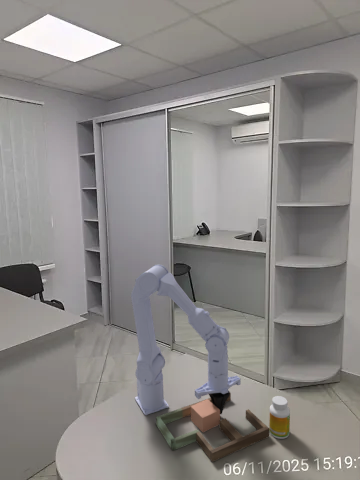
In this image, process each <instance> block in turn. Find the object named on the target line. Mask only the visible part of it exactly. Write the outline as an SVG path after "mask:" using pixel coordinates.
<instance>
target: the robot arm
mask: <svg viewBox="0 0 360 480" xmlns="http://www.w3.org/2000/svg"><path fill="white" fill-rule="evenodd" d="M156 292H157V293H156ZM155 293H156V296H163V297H168V298H170V299H171V301H173V302H174V303H175V305H177V306H178V308H180V309H181V310H182V312H183V313H184V314H186V315H187V322H188V324H189V325H190V326H191V327H192V328H193V329H194V331H195V332H196V333H197V334H198V335H199V336H200V338H201V339H202V340H203V341H204V342H205V344H204V347H205V349H206V350H207V381H206V382H205V383H204V384H202V385H201V386H199V387H198V388H196V389H194V397H195V398H196V399H197V400H200V399H202V397H204V396H207V395H208V396H209V398H211V400H212V403H213V404H214V405H215V406H216V407H217V408H218V409H219V410H220V415H222V414H223V411H224V408H225V404H226V400H227V399H228V397H229V396H230V393H231V391H229V389H231V387H233V386H241V378H240V377H239V376H238V375H234V376H229V355H228V352H229V351H228V344H229V340H230V333H229V332H228V330H227V328H226V327H224V326H221V325H220V324H217V323H216V322H215V320H214V319H213V318H212V317H211V316H210V315H211V313H210V312H209V311H208V310H205V309H204V308H203V307H202V308H201V307H197V306H196V305H195V304H194V302H193V301H192V300H191V299H190V298H189V296H188V295H187V293H186V292H185V291H184V289H182V287H181V286H180V285H179V283H178V282H177V280H176V278H175V277H174V275H173V273H171V272H170V271H169V270H168V268H167V267H165V265H163V264H154V265H153V266H151V267H150V268H149V269H148V270H146V271H144V272H142V273H141V274H140V275H139V276H138V277H136V279H135V284H134V285H133V288H132V291H131V293H130V298H131V304H132V311H133V318H134V324H135V330H136V337H137V343H138V348H139V352H138V355H137V359H136V368H135V369H136V370H135V377H136V390H137V396H135V397H134V400H135V401H136V403H137V405H138V406H139V408H140V409H141V412H142V413H143V414H144V416H148V415H150V414H153V413H156V412H159V411H162V410H165V409H167V408H169V407H170V405H169V404H168V402H167V400H166V399H165V397H164V395H165V394H164V393H165V392H164V375H163V369H164V367H165V364H166V359H165V357H164V356H163V353H162V349H161V347H159V346H158V343H157V337H156V332H155V331H156V330H155V324H154V318H153V312H152V305H151V296H152V295H153V294H155Z"/></svg>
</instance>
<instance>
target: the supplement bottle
mask: <svg viewBox="0 0 360 480" xmlns="http://www.w3.org/2000/svg"><path fill="white" fill-rule="evenodd" d="M290 420H291V409H290V408H289V406H288V400H287V398H286V397H284V396H282V395H276V396H273V397H272V398H271V405H270V406H269V417H268V428H269V435H271V436H272V437H274V438H276V439H279V440H280V439H281V440H283V439H286V438H288V437H289V436H290V430H291V429H290V426H291V425H290V423H291V421H290Z"/></svg>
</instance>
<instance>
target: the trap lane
mask: <svg viewBox="0 0 360 480" xmlns="http://www.w3.org/2000/svg"><path fill="white" fill-rule="evenodd" d="M206 399H208V400H209V401H210V402H211V403H212V400H211V398H210V397H208V398H206ZM206 399H203V400H201V401H196V402H195V403H191V404H189V405H186V406H183V407H181V408H178V409H175V410H171V411H169V412H166V413H163V414H161V415H158V416H155V425H156V427H157V428H158V430H159V431H160V433H161V434H162V436H163V438H164V440H165V441H166V442H167V444H168V446H169V447H170V449H171V451H175V450H178V449H181V448H183V447H185V446H189V444H193V443H195V442H196V443H197V444H198V445H199V447H200V448H201V450H202V451H203V452H204V454H205V455H206V456H207V458H208V459H209V460H210V461H211V463H214V462H216V461H218V460H221V459H223V458H225V457H227V456H230V455H231V454H234V453H236V452H238V451H241V450H243V449H246V448H247V447H250V446H252V445H254V444H256V443H258V442H261V441H263V440H265V439H267V438H269V437H270V432H269V426H267V425H266V424H265V423H264V422H263V421H262V420H261V419H260V418H258V417H257V416H256V415H255V414H254V413H253V411H251V410H250V409H246V410H245V419H246V421H248V422H249V423H250V424H251V425H252V426H253V427H254V428H255V429H256V430H255V431H252V432H250V433H248V434H245V435H242V434H241V433H240V432H239V431H238V430H237V429H236V428H235V427H234V426H233V425H232V423H230V421H229V420H228V419H227V418H226V417H225V418H223V419H220V425H219V430H220V431H221V432H222V433H223V434H224V435H225V436H226V438H227V439H228V440H229V441H228V442H226V443H224V444H222V445H220V446H217V447H215V448H213V446H212V445H211V444H210V443H209V442H208V440H207V439H206V438H205V437H204V435H203V434H202V432H201V431H200V429H199V428H198V429H194V430H192V431H189V432H187V433H185V434H184V433H183V434H181V435H179V436H176V437H174V436H173V434H172V433H171V431H170V430H169V429H168V427H167V424H170V423H171V422H175V421H177V420H180V419H183V418H186V417H189V416H191V406H192V405H195V404H197V403H199V402H202V401H204V400H206ZM231 400H232V393H231V392H230V396H229V397H228V399H227V400H226V402H229V401H231ZM226 402H225V403H226Z"/></svg>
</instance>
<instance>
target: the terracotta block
mask: <svg viewBox="0 0 360 480" xmlns="http://www.w3.org/2000/svg"><path fill="white" fill-rule="evenodd" d="M203 400H204V401H203ZM203 400H201V401H202V402H200V401H198V402H199V403H197V402H196V403H197V404H195V405H192V406H191V415H190V421H191V422H192V423H193V424H194V425H195V426H196V427H197V428H198V430H199V431H200V432H201V433H205V432H207V431H209V430H211V429H213V428H215V427H217V426H220V420H221V414H220V410H219V409H218V408H217V407H216V406H215V405H214V404H213V403H211V402H210V401H209V400H208V398H206V400H205V399H203Z"/></svg>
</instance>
